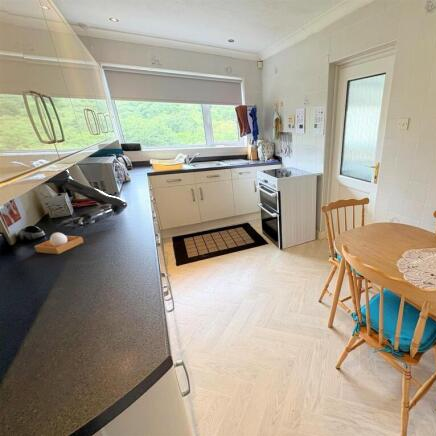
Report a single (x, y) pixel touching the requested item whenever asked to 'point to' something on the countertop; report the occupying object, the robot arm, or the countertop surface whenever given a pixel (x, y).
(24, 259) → the countertop surface
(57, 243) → the egg
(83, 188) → the robot arm
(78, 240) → the bin
